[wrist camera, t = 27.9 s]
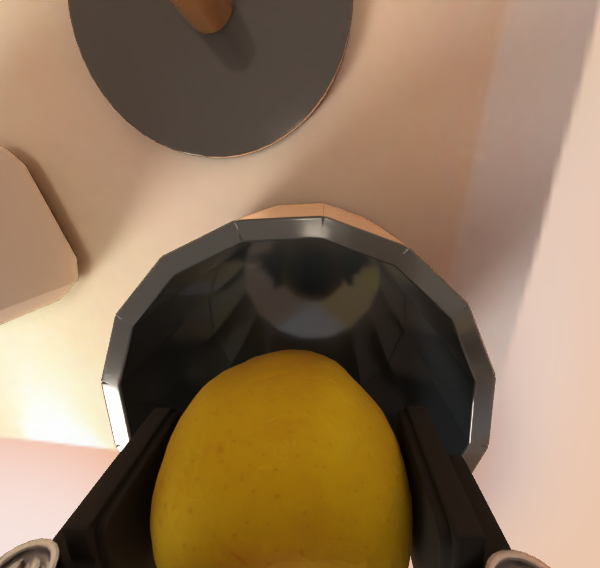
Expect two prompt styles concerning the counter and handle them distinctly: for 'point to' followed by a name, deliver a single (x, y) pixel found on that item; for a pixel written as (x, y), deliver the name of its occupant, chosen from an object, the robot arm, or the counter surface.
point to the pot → (302, 322)
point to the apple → (282, 473)
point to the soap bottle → (29, 245)
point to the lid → (213, 66)
